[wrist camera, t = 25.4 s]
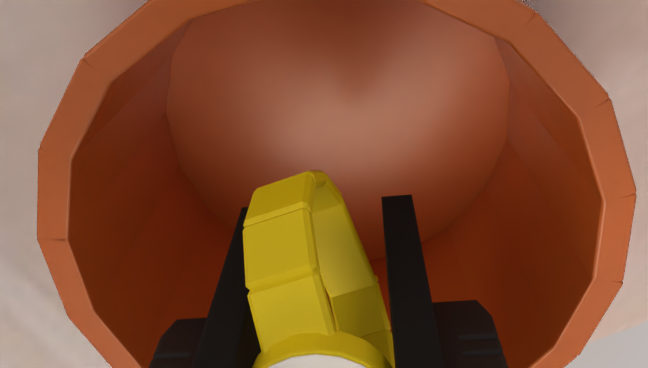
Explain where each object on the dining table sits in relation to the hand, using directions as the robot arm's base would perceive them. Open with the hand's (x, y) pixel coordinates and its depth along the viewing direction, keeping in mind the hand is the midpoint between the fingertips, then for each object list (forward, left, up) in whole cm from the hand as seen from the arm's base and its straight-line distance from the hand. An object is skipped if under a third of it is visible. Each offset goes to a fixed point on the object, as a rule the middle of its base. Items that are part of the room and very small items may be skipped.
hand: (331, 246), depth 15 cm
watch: (0, 0, -1) cm, 1 cm away
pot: (0, 0, -9) cm, 9 cm away
